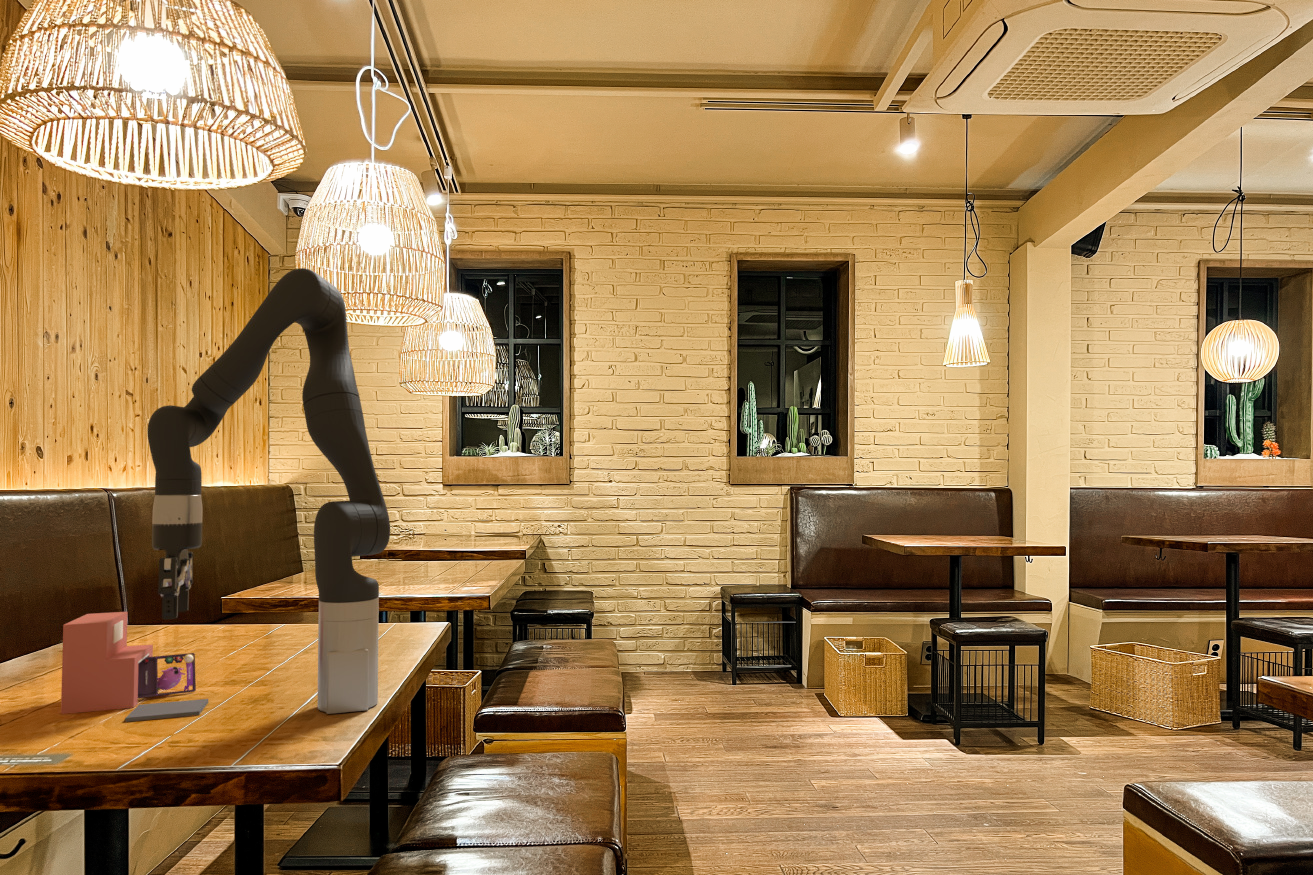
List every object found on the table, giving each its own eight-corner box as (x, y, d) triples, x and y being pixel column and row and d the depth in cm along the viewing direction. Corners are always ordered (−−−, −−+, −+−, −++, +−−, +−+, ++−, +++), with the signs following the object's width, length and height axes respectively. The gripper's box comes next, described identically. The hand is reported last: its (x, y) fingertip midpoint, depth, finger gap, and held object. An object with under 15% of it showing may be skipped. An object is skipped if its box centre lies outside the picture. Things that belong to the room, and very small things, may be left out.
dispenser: (133, 707, 133) (135, 620, 134) (60, 713, 130) (63, 624, 131) (151, 690, 145) (153, 610, 145) (85, 695, 141) (87, 613, 142)
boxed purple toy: (136, 656, 139) (195, 651, 145) (130, 665, 143) (189, 659, 148) (136, 696, 136) (196, 689, 142) (130, 704, 140) (190, 697, 146)
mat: (198, 714, 129) (199, 711, 129) (125, 721, 125) (125, 717, 125) (208, 702, 136) (208, 698, 136) (138, 708, 133) (139, 704, 133)
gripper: (193, 522, 137) (191, 620, 136) (209, 518, 150) (207, 608, 149) (142, 523, 134) (139, 623, 134) (162, 519, 148) (160, 610, 147)
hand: (175, 615), depth 142 cm, fingers open, 8 cm apart
